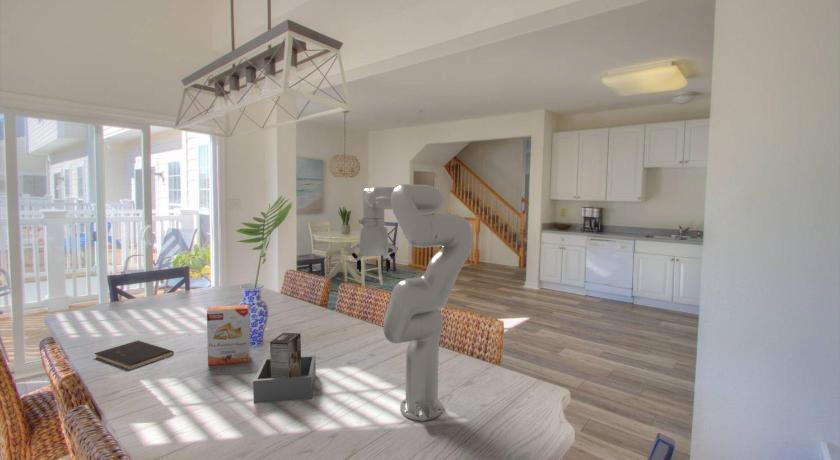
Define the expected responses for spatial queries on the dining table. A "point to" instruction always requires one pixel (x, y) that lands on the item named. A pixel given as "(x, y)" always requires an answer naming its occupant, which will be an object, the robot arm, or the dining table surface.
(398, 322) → the robot arm
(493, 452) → the dining table surface
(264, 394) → the bin
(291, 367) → the coffee box
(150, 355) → the hardcover book
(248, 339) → the cracker box
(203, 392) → the dining table surface
